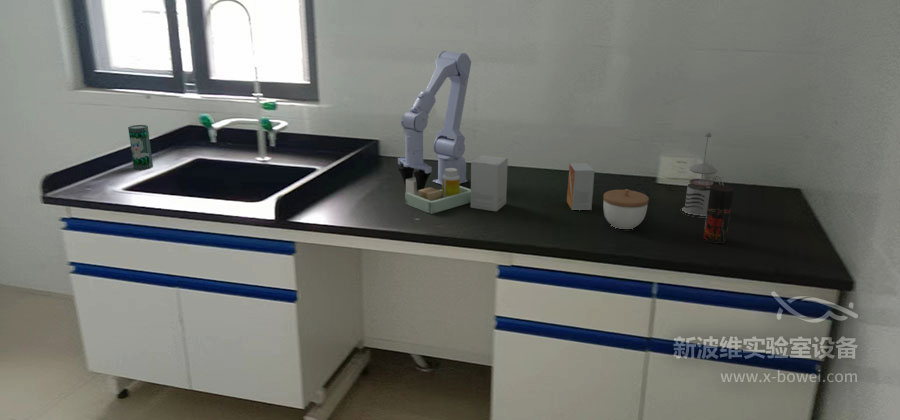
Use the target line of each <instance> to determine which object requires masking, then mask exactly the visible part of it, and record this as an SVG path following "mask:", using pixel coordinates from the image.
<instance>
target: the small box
mask: <svg viewBox="0 0 900 420" xmlns="http://www.w3.org/2000/svg"><path fill="white" fill-rule="evenodd" d="M595 172H596V171H595V169H594V168H593V167H592V165H590V163H585V162H584V163H582V162H581V163H569V167H568V179H567V181H568V182H567V193H566V194H567V195H566V203H567V204H568V206H569V207H570V209H571V211H572V210H579V212H581V211H580V210H591V211H592V206H593V194H594V184H595V183H594V182H595Z"/></svg>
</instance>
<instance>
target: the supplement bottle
mask: <svg viewBox="0 0 900 420" xmlns="http://www.w3.org/2000/svg"><path fill="white" fill-rule="evenodd" d="M460 186H461V184H460V177H459V175H457V169H455V168H446V169H445V174H444V175H443V176H442V185H441V190H442V195H441V198H445V197H449V196H452V195H456V194H459V187H460Z"/></svg>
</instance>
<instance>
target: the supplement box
mask: <svg viewBox="0 0 900 420" xmlns="http://www.w3.org/2000/svg"><path fill="white" fill-rule="evenodd" d="M508 160H509V158H506V157H500V156H499V157H497V156H490V155H485V154H484V155H483V154H482V155H480V156H478V157H476V158H475V159H473V160H471V162H470V189H471V203H470V208H471V209H477V210H478V209H479V210H485V211H491V212H498V211H499V210H500V209H502V208H503V207H504V206H505V205H507V191H508V190H507V189H508V188H507V185H508Z"/></svg>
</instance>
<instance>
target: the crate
mask: <svg viewBox="0 0 900 420" xmlns="http://www.w3.org/2000/svg"><path fill="white" fill-rule="evenodd" d="M439 190H440V191H441V196H442V189H439ZM469 203H470V204H471V188H468V187H465V186H462V185H460V187H459V194H456V195H452V196H449V197H445V198H442V197H441V199H438V200H434V201H430V200H427V199H425V198H422V197H419V196H416V195H414V194H411V193H406V192H404V204H405V205H408V206H410V207H412V208H415V209H417V210H420V211H422V212H425V213H428V214H431V215H433V214H437V213H440V212H443V211H446V210H449V209H454V208H457V207H460V206H463V205H466V204H469Z"/></svg>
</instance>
